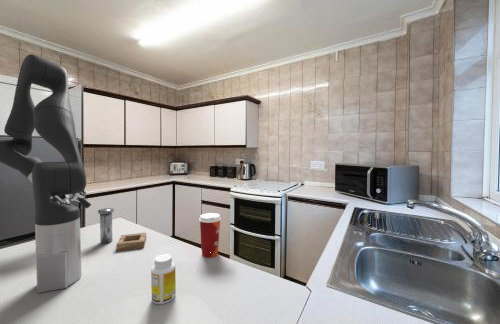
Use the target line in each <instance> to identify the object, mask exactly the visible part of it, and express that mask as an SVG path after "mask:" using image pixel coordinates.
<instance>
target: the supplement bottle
mask: <svg viewBox="0 0 500 324" xmlns="http://www.w3.org/2000/svg"><path fill="white" fill-rule="evenodd" d="M150 275H151V276H150V278H151V279H150V280H151V283H150V284H151V285H150V286H151V300H152V302H153V303H154V304H156V305H164V304H167V303H169V302H171V301H172V300H173V299H174V298H175V296H176V293H177V292H176V287H177V286H176V283H177V282H176V264H175V262H173V256H172V254H169V253H164V254H160V255H159V254H158V255H157V256H156V257H155V258H154V265H152V267H151V269H150Z"/></svg>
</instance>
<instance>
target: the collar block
mask: <svg viewBox="0 0 500 324" xmlns="http://www.w3.org/2000/svg"><path fill="white" fill-rule="evenodd" d="M146 241H147V232H139V233H132V234H131V233H130V234H121V235H120V237H119V239H118V241H117V243H116V247H115V249H116V251H117V252H120V251H127V250H134V249H135V250H136V249H143V248H145V245H146Z"/></svg>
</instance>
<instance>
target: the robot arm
mask: <svg viewBox="0 0 500 324" xmlns="http://www.w3.org/2000/svg"><path fill="white" fill-rule="evenodd" d="M32 85H35V86H38V87H42V88H46V89H48V90H50V91H51V92H52V93H51V94H50V95H49V96H47V97H45V98H44V99H42V100H41V101H39V102H38V103H37V104H36V105H35V104H34V101H33V99H32V95H31V87H32ZM75 127H76V126H75V121H74V116H73V112H72V106H71V101H70V94H69V76H68V72H67V70H66V68H65V67H63V66H61V64H58V63H56V62H54V61H51V60H49V59H46V58H43V57H41V56H39V55H36V54H32V53H31V54H27V55H26V56H25V57H24V58H23V60H22V63H21V65H20V68H19V73H18V77H17V81H16V86H15V92H14V98H13V102H12V107H11V109H10V113H9V115H8V118H7V120H6V123H5V126H4V128H3V130H4V133H5V134H6V135H7V136H8V137H11V138H12V139H7V140H6V139H4V140H0V163H1V164H3V165H6V166H7V167H9V168H11V169H13V170H17V171H19V173H20V174H22V175H23V176H24V177H26V178H27V179H28V181H30V182H31V183H32V190H33V191H32V192H33V199H34V200H33V201H34V227H35V228H34V229H35V232H34V233H35V236H34V237H35V238H34V239H35V269H36V293H37V294H40V293H44V292H45V293H46V292H50V291H51V292H52V291H56V290H57V291H58V290H62V289H66V288H68V287H69V286H70V285H72V284H74V283H77V282H78V280H79V279H80V278H81V277H82V250H81V249H82V248H81V246H82V245H81V243H82V242H81V210H80V208H79V207H78V206H75V205H74V204H72V203H71V202H70V201H72V202H78V203H79V204H80V205H81V206H82V207H83V208H85V209H90V207H91V205H92V203H90V202H89V201H88V200H87V199H86V197H87V194H85V193H84V192H83V191H84V190H85V189H86V187H87V176H86V170H85V167H84V162H83V160H82V156H81V152H80V149H79V146H78V140H77V134H76V128H75ZM35 131H36V133H37V134H38V135H39V136H40V137H41V138H42V139H43V140H44V141H45V142H47V144H49V145H50V146H52V147H53V148H54V149H55V150H56V151H57V152H59V153H60V155H61V156H62V157H63V159H64V161H43V160H41V158H39V157H37V156H30V155H29V154H31V152H32V149H33V133H34V132H35Z"/></svg>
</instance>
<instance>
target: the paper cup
mask: <svg viewBox="0 0 500 324" xmlns="http://www.w3.org/2000/svg"><path fill="white" fill-rule="evenodd" d="M198 220H199V224H200V226H199V227H200V243H201V244H200V246H201V255H202V257H203V258H206V259H211V258H215V257H217V256H218V254H219V244H220V242H219V241H220V229H221V228H220V227H221V220H222V218H221V215H220V213H216V212H207V213H203V214H200V216H199V218H198ZM210 252H211V253H210Z"/></svg>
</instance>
